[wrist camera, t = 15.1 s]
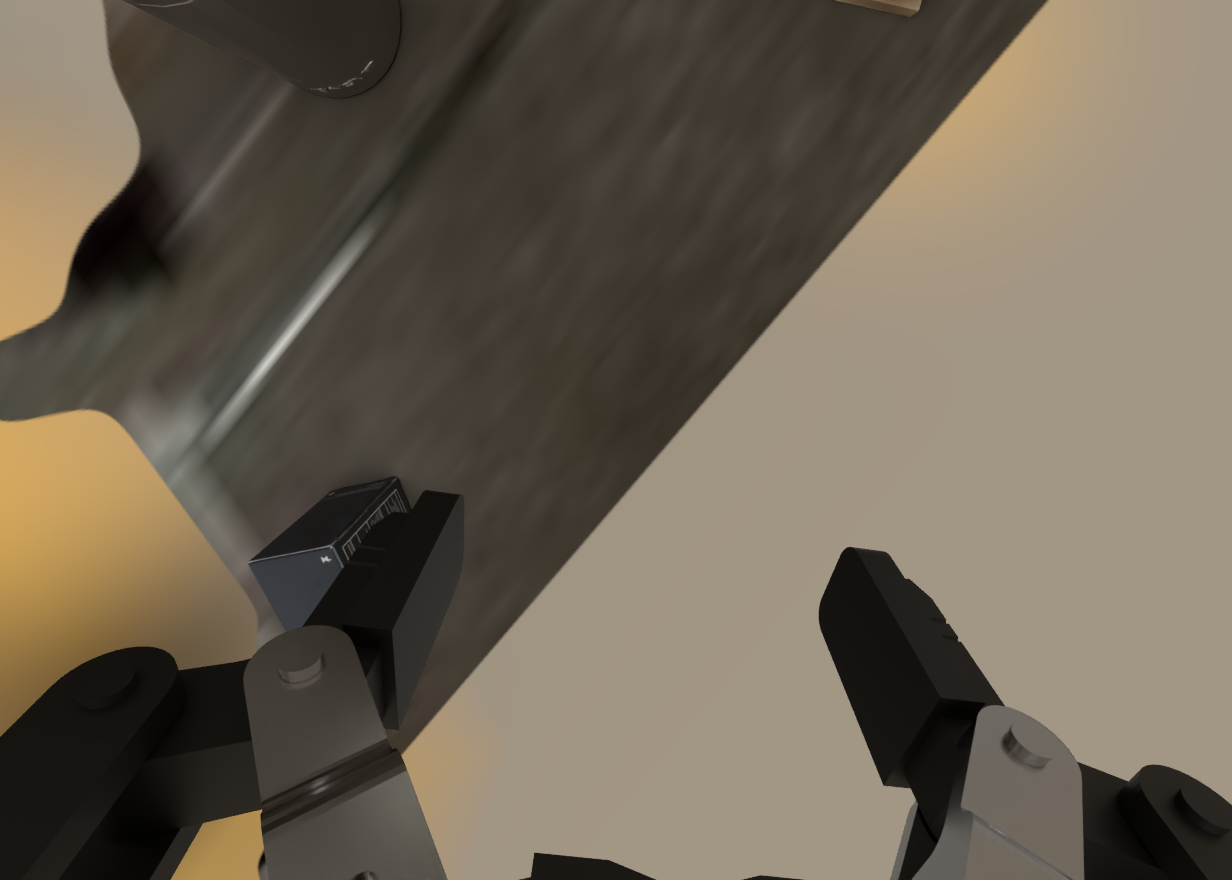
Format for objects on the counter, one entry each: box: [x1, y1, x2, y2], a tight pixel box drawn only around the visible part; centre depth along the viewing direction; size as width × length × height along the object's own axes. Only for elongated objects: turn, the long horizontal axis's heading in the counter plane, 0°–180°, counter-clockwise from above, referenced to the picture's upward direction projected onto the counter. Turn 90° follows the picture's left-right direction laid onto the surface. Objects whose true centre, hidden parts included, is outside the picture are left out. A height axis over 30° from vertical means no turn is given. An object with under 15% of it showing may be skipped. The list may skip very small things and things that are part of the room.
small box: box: [248, 478, 411, 632], centre depth 41 cm, size 11×6×10 cm, turn 13°
